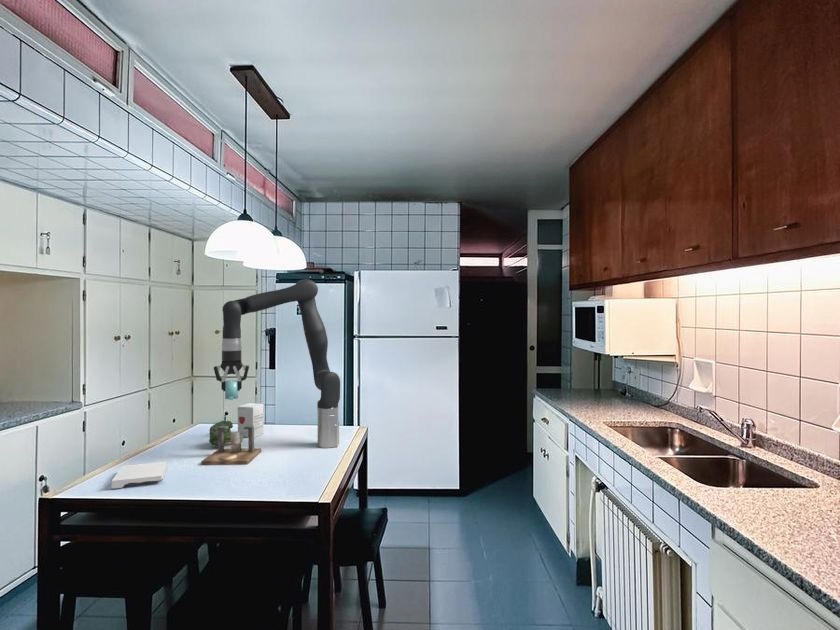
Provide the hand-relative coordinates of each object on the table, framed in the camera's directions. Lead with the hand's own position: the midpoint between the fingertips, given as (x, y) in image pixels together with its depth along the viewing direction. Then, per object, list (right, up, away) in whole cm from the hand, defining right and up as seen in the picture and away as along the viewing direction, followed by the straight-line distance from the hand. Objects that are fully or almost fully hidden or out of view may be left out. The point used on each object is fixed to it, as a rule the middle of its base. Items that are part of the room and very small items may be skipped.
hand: (231, 390), depth 202 cm
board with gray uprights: (0, -28, 0) cm, 28 cm away
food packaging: (-23, -29, -24) cm, 44 cm away
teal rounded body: (0, -3, 0) cm, 3 cm away
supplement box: (-5, -28, +38) cm, 47 cm away
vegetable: (-10, -28, +19) cm, 35 cm away
